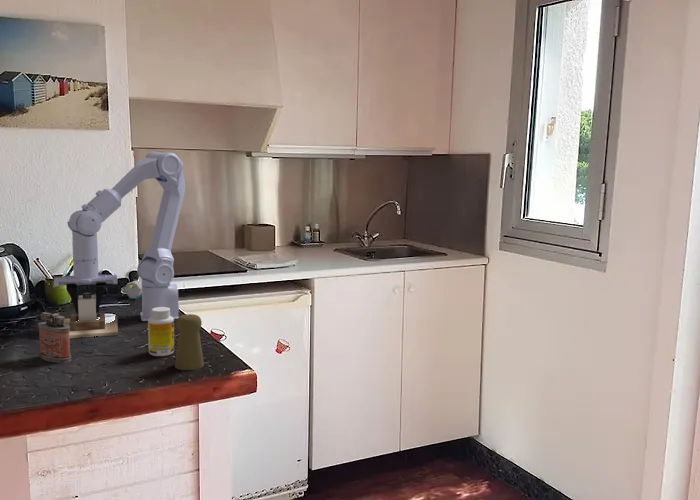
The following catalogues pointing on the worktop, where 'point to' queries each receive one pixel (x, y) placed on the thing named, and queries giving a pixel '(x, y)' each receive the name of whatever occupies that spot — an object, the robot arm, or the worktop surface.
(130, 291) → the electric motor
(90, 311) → the plug
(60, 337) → the lighter
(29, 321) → the worktop surface
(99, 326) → the socket dock
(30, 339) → the worktop surface
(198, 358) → the olive pepper mill
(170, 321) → the supplement bottle
